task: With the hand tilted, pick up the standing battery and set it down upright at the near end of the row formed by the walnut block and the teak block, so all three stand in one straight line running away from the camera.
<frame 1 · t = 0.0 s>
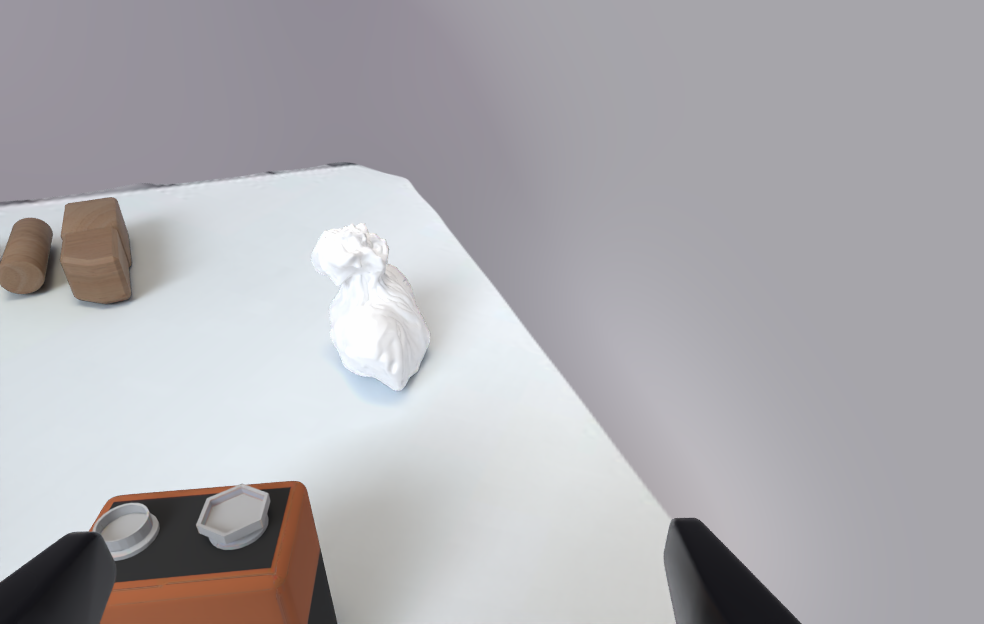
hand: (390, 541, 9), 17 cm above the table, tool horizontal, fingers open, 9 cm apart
bust: (381, 360, 43), on the table
wooden block set: (29, 286, 54), on the table
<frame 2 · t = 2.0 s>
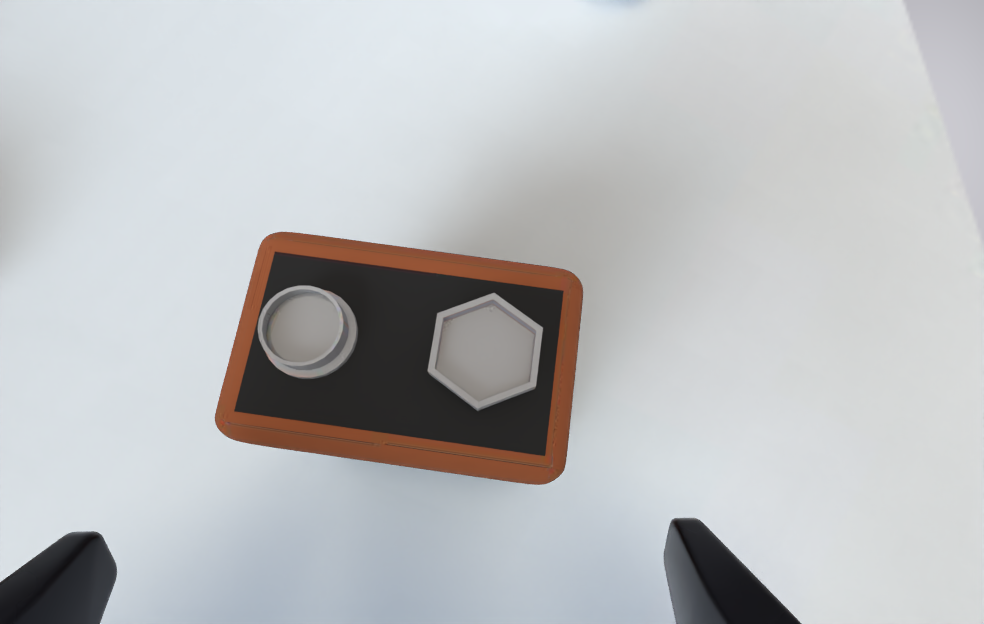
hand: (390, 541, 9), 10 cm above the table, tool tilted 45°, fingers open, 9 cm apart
battery: (439, 404, 20), on the table
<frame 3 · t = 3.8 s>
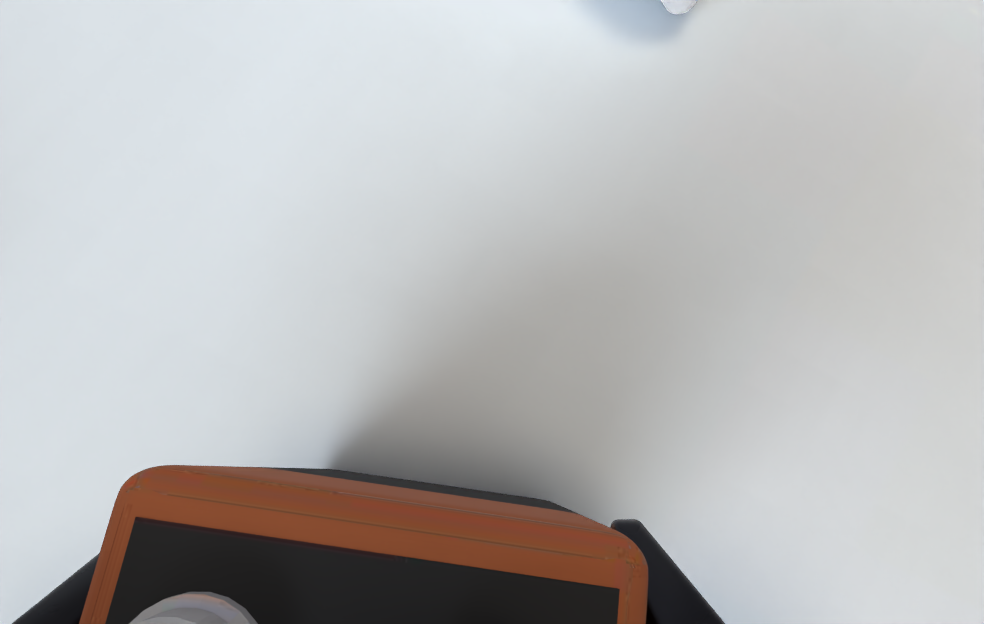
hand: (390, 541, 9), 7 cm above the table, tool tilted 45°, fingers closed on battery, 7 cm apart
battery: (426, 568, 16), on the table, touching gripper
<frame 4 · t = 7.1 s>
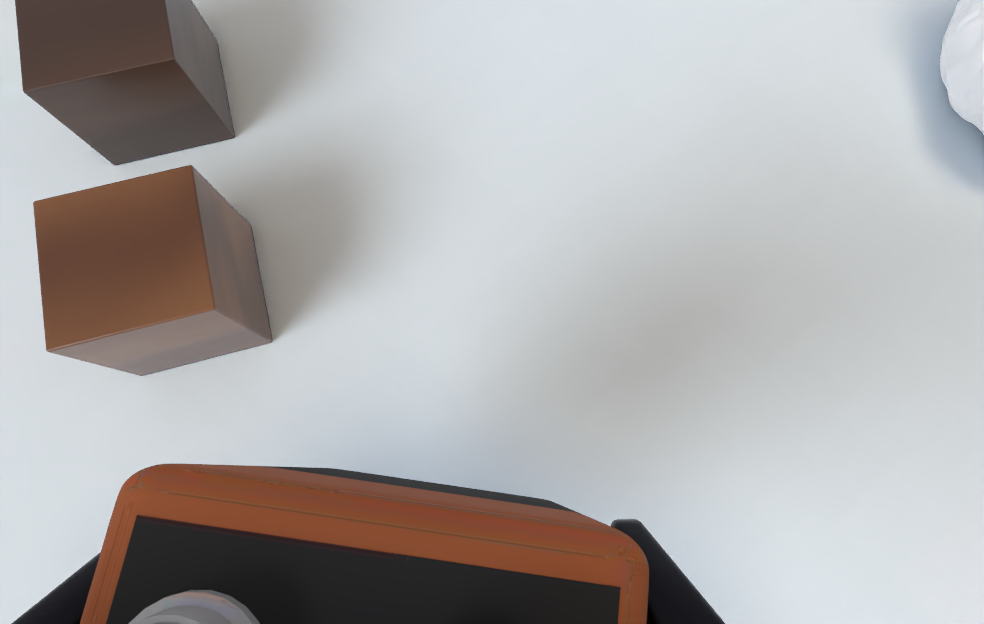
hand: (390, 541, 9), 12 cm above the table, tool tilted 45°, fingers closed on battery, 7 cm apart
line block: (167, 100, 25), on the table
battery: (426, 567, 16), point 5 cm above the table, touching gripper
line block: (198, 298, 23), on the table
bust: (981, 79, 26), on the table
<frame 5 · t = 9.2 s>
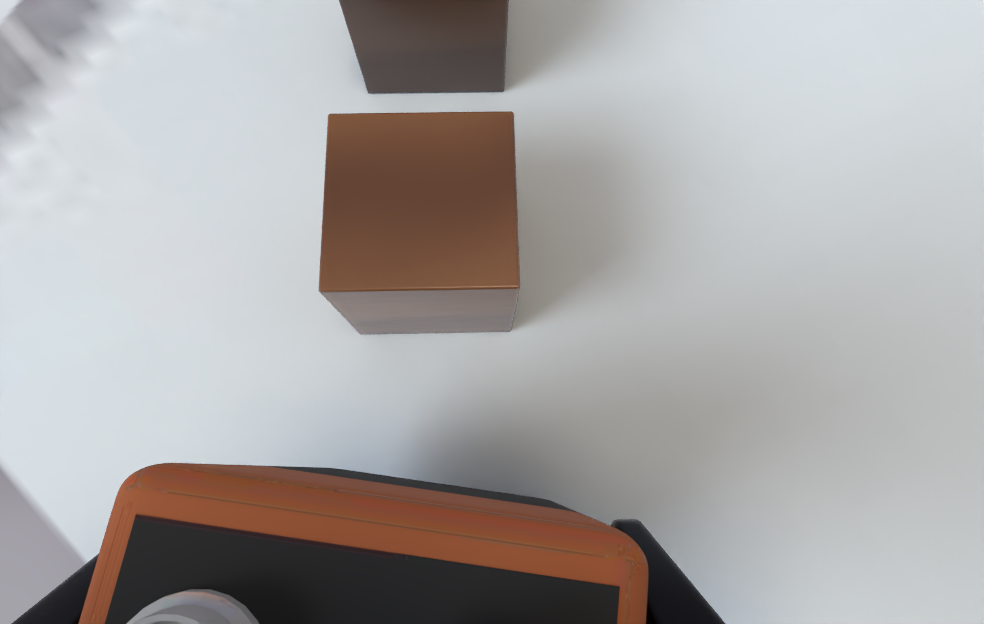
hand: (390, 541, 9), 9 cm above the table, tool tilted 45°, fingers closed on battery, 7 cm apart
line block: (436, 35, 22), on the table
battery: (426, 567, 16), point 2 cm above the table, touching gripper
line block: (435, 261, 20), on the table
when the fingers open (7 cm above the table, at t = 10.6 s): battery stays where it is, on the table.
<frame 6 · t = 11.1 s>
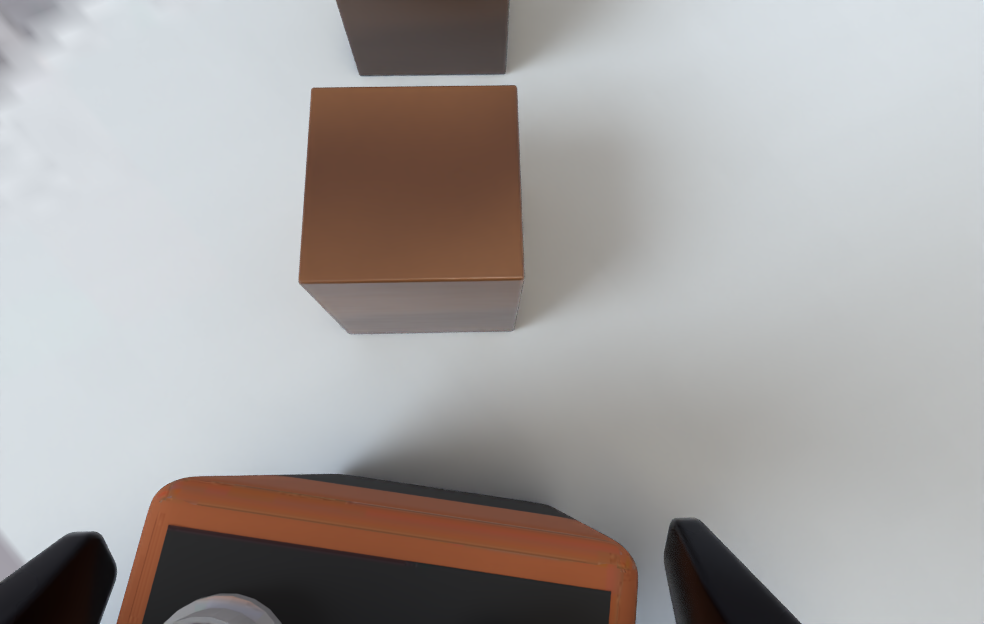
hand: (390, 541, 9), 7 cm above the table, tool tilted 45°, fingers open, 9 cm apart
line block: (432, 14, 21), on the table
battery: (429, 569, 16), on the table
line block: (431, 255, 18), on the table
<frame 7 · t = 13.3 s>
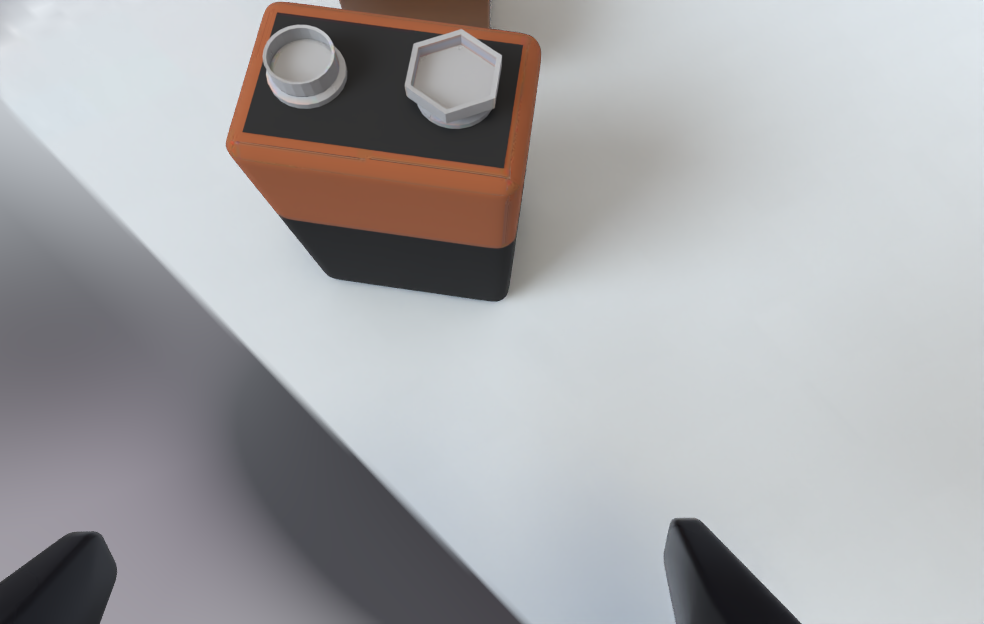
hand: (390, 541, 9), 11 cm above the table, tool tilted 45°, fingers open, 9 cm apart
battery: (425, 240, 22), on the table
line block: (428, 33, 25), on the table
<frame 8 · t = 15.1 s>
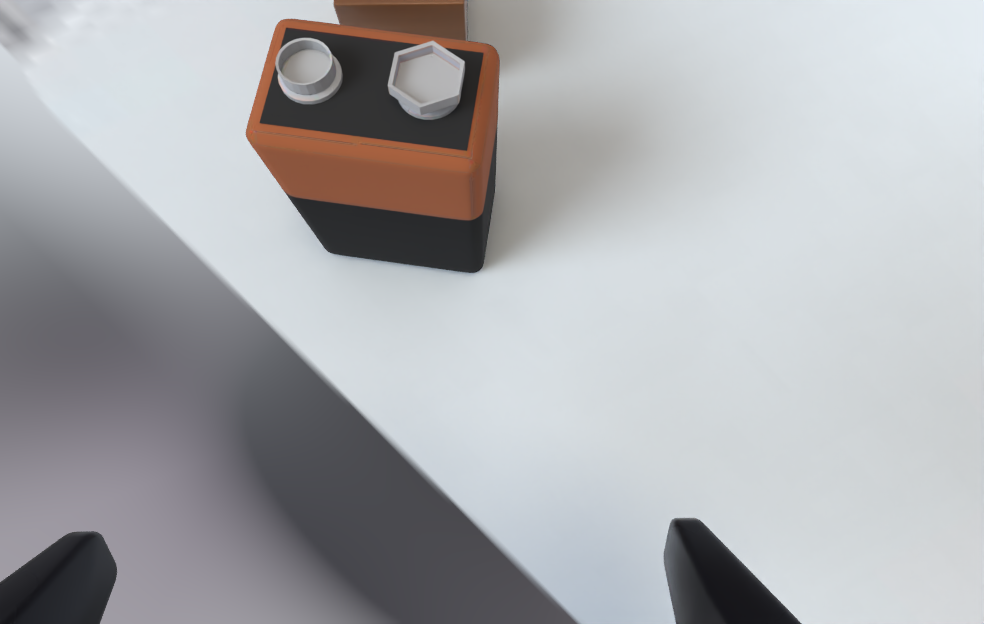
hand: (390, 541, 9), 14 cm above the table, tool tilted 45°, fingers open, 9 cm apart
battery: (412, 221, 26), on the table
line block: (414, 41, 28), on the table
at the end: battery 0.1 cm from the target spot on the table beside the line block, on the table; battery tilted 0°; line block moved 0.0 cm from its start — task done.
